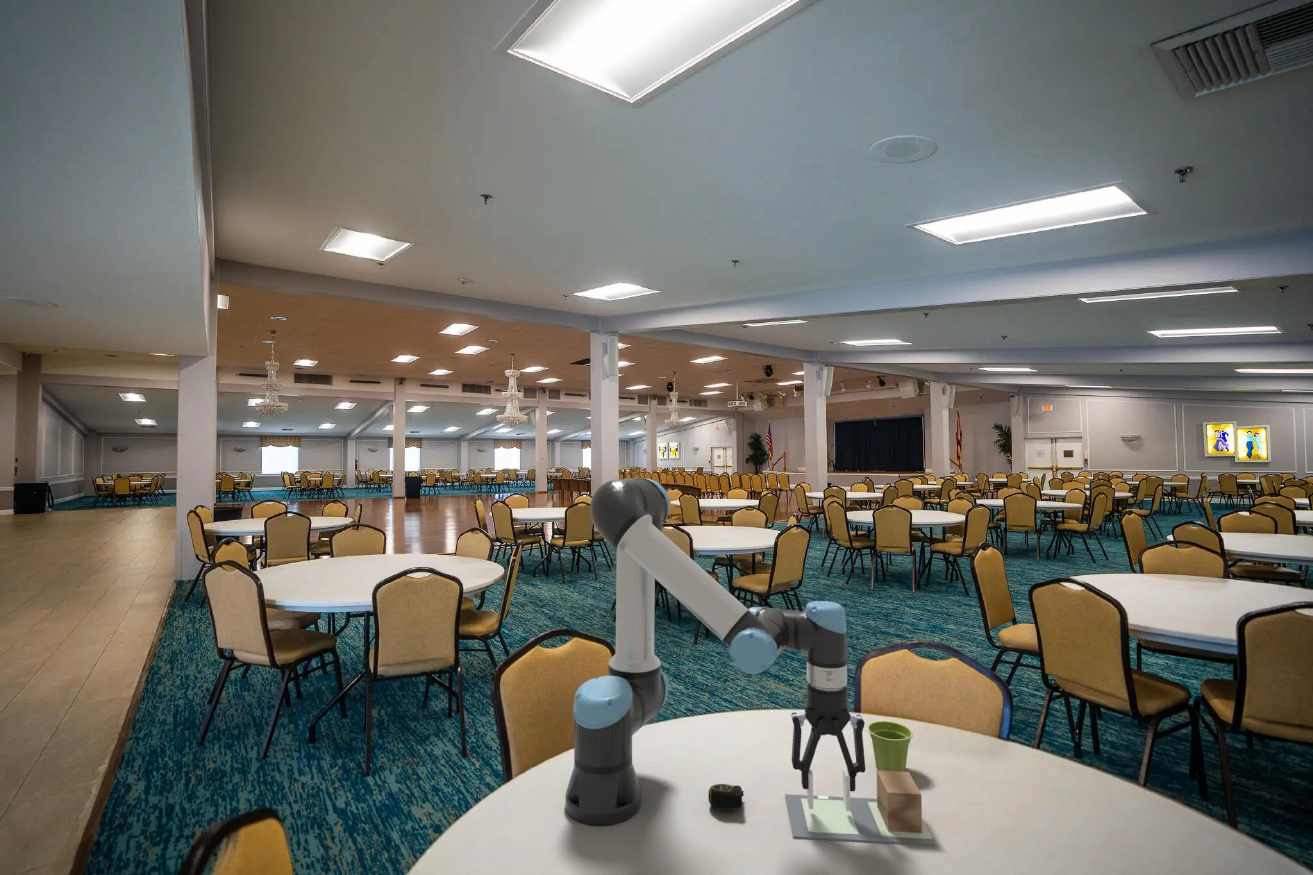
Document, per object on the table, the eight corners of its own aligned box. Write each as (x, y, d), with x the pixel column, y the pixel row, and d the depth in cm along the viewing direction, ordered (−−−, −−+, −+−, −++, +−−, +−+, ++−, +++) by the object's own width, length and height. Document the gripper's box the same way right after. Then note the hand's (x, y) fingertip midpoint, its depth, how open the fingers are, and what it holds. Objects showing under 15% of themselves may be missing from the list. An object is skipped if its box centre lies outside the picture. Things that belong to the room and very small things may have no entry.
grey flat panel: (793, 840, 112) (793, 835, 112) (785, 798, 126) (785, 793, 126) (936, 848, 110) (936, 843, 110) (912, 804, 124) (912, 799, 124)
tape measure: (742, 814, 118) (741, 792, 119) (707, 812, 120) (706, 791, 121) (744, 804, 125) (743, 783, 126) (710, 802, 126) (709, 782, 127)
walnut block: (888, 831, 114) (887, 792, 114) (877, 806, 122) (876, 770, 122) (922, 832, 113) (921, 794, 113) (908, 808, 121) (908, 771, 121)
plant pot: (920, 780, 133) (919, 739, 133) (876, 780, 133) (875, 739, 133) (903, 759, 142) (903, 720, 143) (862, 758, 143) (862, 720, 143)
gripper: (778, 690, 117) (779, 814, 116) (883, 693, 115) (885, 820, 114) (774, 675, 124) (776, 792, 123) (873, 678, 122) (875, 797, 121)
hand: (828, 805), depth 119 cm, fingers open, 6 cm apart
